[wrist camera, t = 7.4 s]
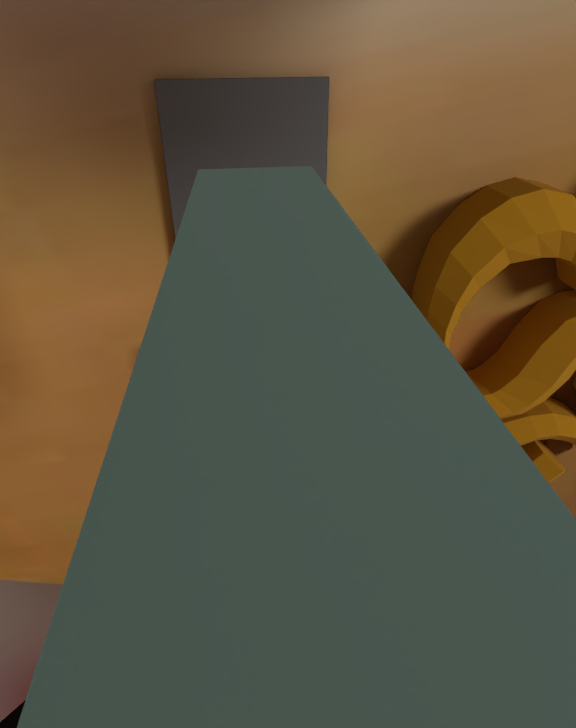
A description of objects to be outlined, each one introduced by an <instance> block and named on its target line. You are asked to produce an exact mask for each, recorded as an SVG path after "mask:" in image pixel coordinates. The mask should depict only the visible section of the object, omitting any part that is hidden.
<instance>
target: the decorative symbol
mask: <svg viewBox="0 0 576 728" xmlns="http://www.w3.org/2000/svg"><path fill="white" fill-rule="evenodd" d="M537 258H555V262H556V269H557V276H558V279H560V280H561V281H563V282H564V283H566V284H567V285H569V286H570V287H572V288H573V289H575V290H569V291H562V292H559V293H556V294H554V295H551V296H549V297H546V298H544V299H541V300H539V301H538V303H537V304H536V305H535V306H534V307H533V308H532V309H531V310H530V311H529V312H528V313H527V314H526V315H525V316H524V317H523V318H522V319H521V320H520V321H519V322H518V323H517V325H516V326H515V327H514V329H513V330H512V332H511V333H510V334H509V336H508V337H507V338H506V340H505V341H504V342H503V344H502V345H501V346H500V348H499V349H498V351H497V352H496V353H495V354H493V355H492V356H491V357H490V358H489V359H487V360H486V361H485V362H484V363H483V364H481V365H480V366H479V367H476V368H474V369H472V370H468V371H465V372H466V373H467V375H468V376H469V377H470V379H471V380H472V381H473V383H474V384H475V385H476V387H477V388H478V389H479V391H480V392H481V393H482V395H483V396H484V397H485V399H486V400H487V402H488V403H489V404H490V406H491V407H492V408H493V410H494V411H495V412H496V414H497V415H498V416H499V418H500V419H501V420H502V422H503V423H504V424H505V426H506V427H507V428H508V430H509V431H510V432H511V434H512V435H513V436H514V438H515V439H516V440H517V442H518V443H519V444H520V446H521V447H522V448H523V450H524V451H525V452H526V454H527V455H528V456H529V458H530V459H531V460H532V462H533V463H534V464H535V466H536V467H537V468H538V470H539V471H540V472H541V474H542V475H543V476H544V478H545V479H546V480H547V482H548V483H550V482H552V481H553V480H554V479H556V478H557V477H558V476H560V475H561V474H562V473H564V472H565V471H566V470H567V469H566V468H565V467H564V466H563V464H562V463H561V462H560V461H559V460H558V458H557V457H556V456H555V455H554V453H553V452H552V451H551V450H550V448H549V447H548V446H547V445H546V444H545V443H544V442H542V441H541V440H545V439H555V440H563V441H566V442H569V443H572V444H575V445H576V415H575V414H574V413H573V412H572V411H571V410H570V409H569V407H568V406H566V405H565V404H563V403H561V402H560V401H558V400H557V399H555V398H550V396H551V395H552V394H553V393H554V392H555V391H556V390H557V389H558V388H560V387H561V386H562V385H563V384H564V383H565V382H566V381H567V380H568V379H569V378H570V377H571V375H572V374H573V373H574V371H575V370H576V198H575V197H574V196H573V195H571V194H569V193H566V192H564V191H561V190H559V189H556V188H553V187H551V186H548V185H546V184H543V183H540V182H535V181H531V180H526V179H521V178H517V177H514V178H511V179H507V180H504V181H500V182H497V183H493V184H490V185H486V186H485V187H483V188H482V189H480V190H479V191H477V192H476V193H474V194H473V195H472V196H470V197H469V198H467V199H466V200H464V201H463V202H461V203H460V204H458V205H457V207H456V208H455V209H454V210H453V211H452V212H451V214H450V215H449V216H448V217H447V218H446V219H445V220H444V222H443V223H442V224H441V225H440V226H439V227H438V229H437V230H436V231H435V232H434V233H433V234H432V235H431V238H430V240H429V243H428V245H427V248H426V250H425V252H424V255H423V257H422V260H421V262H420V265H419V267H418V271H417V274H416V278H415V282H414V286H413V290H412V301H413V303H414V304H415V305H416V307H417V308H418V309H419V311H420V312H421V313H422V315H423V316H424V317H425V319H426V320H427V321H428V323H429V324H430V325H431V327H432V328H433V329H434V331H435V332H436V333H437V335H438V336H439V337H440V339H441V340H442V341H443V343H444V344H445V345H446V347H447V348H448V349H449V347H450V340H451V334H452V332H453V330H454V328H455V326H456V323H457V321H458V319H459V317H460V315H461V313H462V311H463V309H464V307H465V306H466V305H467V304H468V302H469V301H470V300H471V299H472V298H473V296H474V295H475V294H476V293H477V291H478V290H479V289H480V288H481V287H482V286H483V285H485V284H486V283H487V282H488V281H490V280H491V279H492V278H493V277H494V276H496V275H497V274H498V273H499V272H501V271H502V270H503V269H504V268H506V267H507V266H508V265H509V264H512V263H517V262H522V261H527V260H532V259H537ZM573 386H574V388H575V390H576V373H575V378H574V383H573Z"/></svg>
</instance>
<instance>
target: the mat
mask: <svg viewBox="0 0 576 728" xmlns="http://www.w3.org/2000/svg"><path fill="white" fill-rule="evenodd" d="M154 84H155V91H156V99H157V106H158V114H159V121H160V128H161V136H162V143H163V151H164V158H165V165H166V173H167V180H168V188H169V195H170V202H171V210H172V217H173V225H174V232H175V239H176V236H177V233H178V230H179V227H180V224H181V221H182V218H183V215H184V212H185V209H186V206H187V202H188V199H189V196H190V193H191V190H192V187H193V184H194V181H195V178H196V175H197V172H198V169H227V168H261V167H294V166H312V167H313V169H314V170H315V171H316V173H317V174H318V175H319V177H320V178H321V179H322V181H323V182H324V183H325V185H326V171H327V136H328V100H329V77H280V78H218V79H156V80H154Z"/></svg>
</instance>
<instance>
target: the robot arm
mask: <svg viewBox="0 0 576 728" xmlns="http://www.w3.org/2000/svg"><path fill="white" fill-rule="evenodd" d="M25 701H26V700H25ZM25 701H24V702H23V703H22V704H21V705H19V706H18V707H17V708H16V709H15V710H14V711H13V712H11V713H10V714H9V715H8V716H7V717H6V718H5V719H3V720H2V721H1V722H0V728H17V725H18V722H19V719H20V716H21V713H22V710H23V707H24V704H25Z"/></svg>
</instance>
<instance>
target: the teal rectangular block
mask: <svg viewBox="0 0 576 728" xmlns="http://www.w3.org/2000/svg"><path fill="white" fill-rule="evenodd" d="M17 728H576V519H575V518H574V517H573V515H572V514H571V513H570V511H569V510H568V509H567V507H566V506H565V505H564V503H563V502H562V501H561V499H560V498H559V496H558V495H557V494H556V492H555V491H554V490H553V488H552V487H551V486H550V484H549V483H548V482H547V480H546V479H545V478H544V476H543V475H542V474H541V472H540V471H539V470H538V468H537V467H536V466H535V464H534V463H533V462H532V460H531V459H530V458H529V456H528V455H527V454H526V452H525V451H524V450H523V448H522V447H521V446H520V444H519V443H518V442H517V440H516V439H515V438H514V436H513V435H512V434H511V432H510V431H509V430H508V428H507V427H506V426H505V424H504V423H503V422H502V420H501V419H500V418H499V416H498V415H497V414H496V412H495V411H494V410H493V408H492V407H491V406H490V404H489V403H488V402H487V400H486V399H485V397H484V396H483V395H482V393H481V392H480V391H479V389H478V388H477V387H476V385H475V384H474V383H473V381H472V380H471V379H470V377H469V376H468V375H467V373H466V372H465V371H464V369H463V368H462V367H461V365H460V364H459V363H458V361H457V360H456V359H455V357H454V356H453V355H452V353H451V352H450V351H449V349H448V348H447V347H446V345H445V344H444V343H443V341H442V340H441V339H440V337H439V336H438V335H437V333H436V332H435V331H434V329H433V328H432V327H431V325H430V324H429V323H428V321H427V320H426V319H425V317H424V316H423V315H422V313H421V312H420V311H419V309H418V308H417V307H416V305H415V304H414V303H413V301H412V300H411V298H410V297H409V296H408V294H407V293H406V292H405V290H404V289H403V288H402V286H401V285H400V284H399V282H398V281H397V280H396V278H395V277H394V276H393V274H392V273H391V272H390V270H389V269H388V268H387V266H386V265H385V264H384V262H383V261H382V260H381V258H380V257H379V256H378V254H377V253H376V252H375V250H374V249H373V248H372V246H371V245H370V244H369V242H368V241H367V240H366V238H365V237H364V236H363V234H362V233H361V232H360V230H359V229H358V228H357V226H356V225H355V224H354V222H353V221H352V220H351V218H350V217H349V216H348V214H347V213H346V212H345V210H344V209H343V208H342V206H341V205H340V204H339V202H338V201H337V199H336V198H335V197H334V195H333V194H332V193H331V191H330V190H329V189H328V187H327V186H326V185H325V183H324V182H323V181H322V179H321V178H320V177H319V175H318V174H317V173H316V171H315V170H314V169H313V167H312V166H294V167H261V168H227V169H198V172H197V175H196V178H195V181H194V184H193V187H192V190H191V193H190V196H189V199H188V202H187V206H186V209H185V212H184V215H183V218H182V221H181V224H180V227H179V230H178V233H177V236H176V239H175V242H174V246H173V249H172V252H171V255H170V258H169V261H168V264H167V267H166V270H165V273H164V276H163V279H162V282H161V285H160V289H159V292H158V295H157V298H156V301H155V304H154V307H153V310H152V313H151V316H150V319H149V322H148V325H147V329H146V332H145V335H144V338H143V341H142V344H141V347H140V350H139V353H138V356H137V359H136V362H135V365H134V369H133V372H132V375H131V378H130V381H129V384H128V387H127V390H126V393H125V396H124V399H123V402H122V405H121V409H120V412H119V415H118V418H117V421H116V424H115V427H114V430H113V433H112V436H111V439H110V442H109V445H108V448H107V452H106V455H105V458H104V461H103V464H102V467H101V470H100V473H99V476H98V479H97V482H96V485H95V488H94V492H93V495H92V498H91V501H90V504H89V507H88V510H87V513H86V516H85V519H84V522H83V525H82V528H81V532H80V535H79V538H78V541H77V544H76V547H75V550H74V553H73V556H72V559H71V562H70V565H69V568H68V572H67V575H66V578H65V581H64V584H63V587H62V590H61V593H60V596H59V599H58V603H57V605H56V608H55V611H54V615H53V618H52V621H51V624H50V627H49V630H48V633H47V636H46V639H45V642H44V645H43V649H42V651H41V655H40V658H39V661H38V664H37V667H36V670H35V673H34V676H33V679H32V682H31V686H30V688H29V691H28V695H27V698H26V701H25V704H24V707H23V710H22V713H21V716H20V719H19V722H18V725H17Z"/></svg>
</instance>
